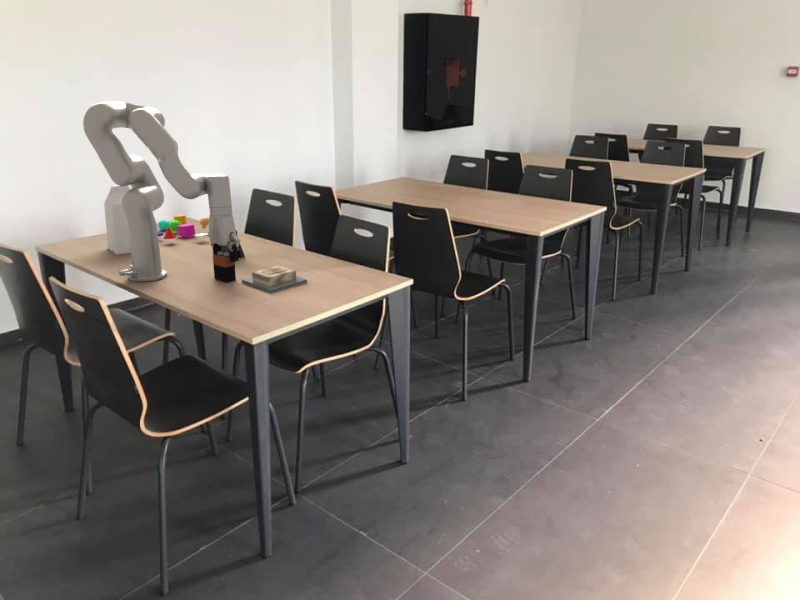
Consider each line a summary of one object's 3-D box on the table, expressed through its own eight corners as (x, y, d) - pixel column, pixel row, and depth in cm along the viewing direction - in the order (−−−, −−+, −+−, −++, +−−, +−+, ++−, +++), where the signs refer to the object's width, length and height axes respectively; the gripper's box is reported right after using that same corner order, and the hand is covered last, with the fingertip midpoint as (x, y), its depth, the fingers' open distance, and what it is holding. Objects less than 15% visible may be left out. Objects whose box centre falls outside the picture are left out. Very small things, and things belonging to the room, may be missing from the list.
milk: (116, 254, 250) (107, 189, 241) (107, 248, 258) (99, 184, 249) (147, 250, 257) (140, 186, 248) (137, 244, 265) (130, 182, 256)
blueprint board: (270, 293, 210) (270, 289, 210) (241, 282, 220) (241, 279, 219) (307, 282, 222) (307, 279, 221) (278, 273, 231) (277, 270, 231)
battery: (226, 283, 219) (225, 255, 216) (213, 279, 223) (211, 252, 219) (236, 280, 223) (234, 252, 219) (223, 276, 226) (221, 249, 223)
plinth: (268, 286, 213) (268, 277, 212) (252, 280, 219) (252, 271, 218) (296, 278, 222) (295, 269, 221) (279, 273, 227) (279, 264, 226)
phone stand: (226, 261, 244) (223, 231, 240) (216, 258, 248) (214, 228, 244) (245, 257, 250) (243, 227, 246) (235, 254, 254) (234, 225, 250)
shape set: (184, 228, 301) (181, 213, 299) (232, 233, 281) (230, 217, 279) (128, 239, 278) (125, 223, 276) (177, 246, 259) (174, 228, 256)
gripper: (197, 209, 217) (202, 257, 223) (226, 216, 206) (231, 266, 212) (215, 206, 222) (220, 253, 228) (245, 212, 212) (249, 261, 217)
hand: (226, 259), depth 220 cm, fingers open, 9 cm apart
